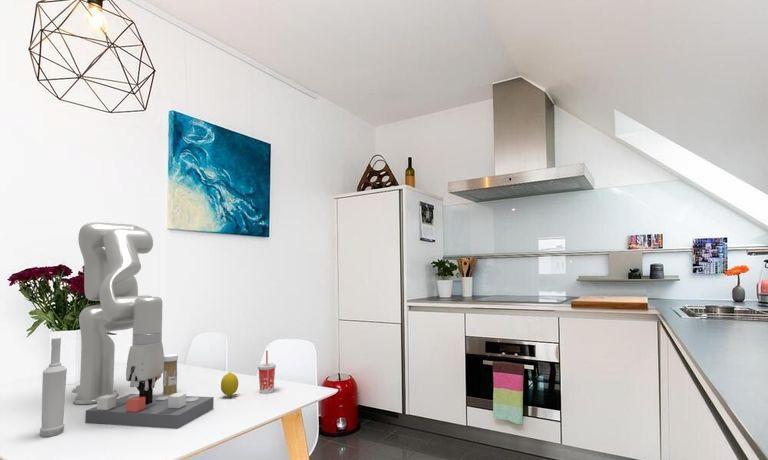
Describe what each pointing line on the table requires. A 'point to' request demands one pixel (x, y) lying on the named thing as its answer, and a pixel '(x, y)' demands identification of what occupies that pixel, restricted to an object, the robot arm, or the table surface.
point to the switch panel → (152, 412)
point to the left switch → (106, 402)
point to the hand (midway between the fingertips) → (145, 403)
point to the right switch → (177, 400)
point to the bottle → (53, 394)
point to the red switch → (135, 404)
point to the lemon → (229, 384)
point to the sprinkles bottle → (170, 374)
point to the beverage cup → (266, 376)
